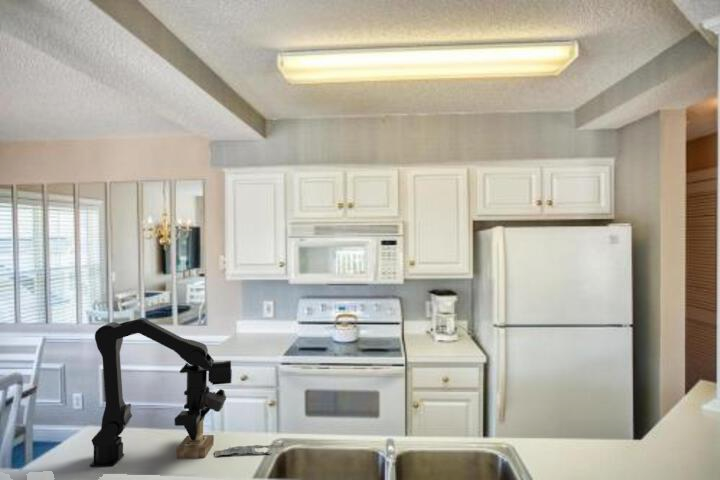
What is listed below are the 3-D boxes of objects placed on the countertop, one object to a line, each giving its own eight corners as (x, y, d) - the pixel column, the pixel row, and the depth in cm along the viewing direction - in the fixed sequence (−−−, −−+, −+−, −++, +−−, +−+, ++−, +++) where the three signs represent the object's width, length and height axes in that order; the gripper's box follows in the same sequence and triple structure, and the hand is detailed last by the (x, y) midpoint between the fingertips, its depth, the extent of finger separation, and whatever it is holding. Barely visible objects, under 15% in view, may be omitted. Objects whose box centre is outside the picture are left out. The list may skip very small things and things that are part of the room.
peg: (188, 451, 124) (188, 421, 124) (192, 446, 127) (192, 416, 128) (199, 451, 124) (199, 421, 125) (203, 446, 128) (203, 416, 128)
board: (176, 458, 122) (176, 447, 122) (187, 445, 130) (187, 435, 130) (205, 457, 122) (205, 446, 122) (213, 444, 130) (213, 434, 130)
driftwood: (211, 459, 122) (211, 452, 122) (217, 449, 128) (217, 442, 129) (282, 458, 124) (282, 450, 124) (284, 447, 130) (284, 440, 130)
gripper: (214, 395, 118) (213, 451, 117) (231, 376, 136) (230, 424, 136) (174, 396, 117) (173, 452, 117) (197, 376, 136) (196, 424, 135)
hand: (195, 437), depth 126 cm, fingers open, 3 cm apart
